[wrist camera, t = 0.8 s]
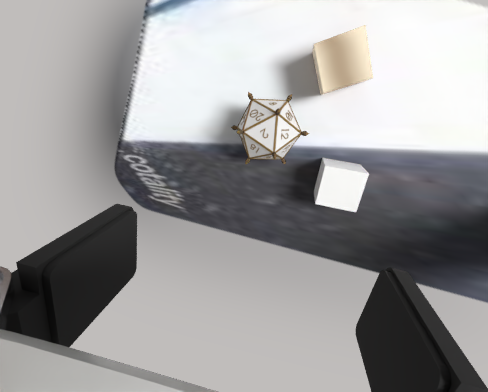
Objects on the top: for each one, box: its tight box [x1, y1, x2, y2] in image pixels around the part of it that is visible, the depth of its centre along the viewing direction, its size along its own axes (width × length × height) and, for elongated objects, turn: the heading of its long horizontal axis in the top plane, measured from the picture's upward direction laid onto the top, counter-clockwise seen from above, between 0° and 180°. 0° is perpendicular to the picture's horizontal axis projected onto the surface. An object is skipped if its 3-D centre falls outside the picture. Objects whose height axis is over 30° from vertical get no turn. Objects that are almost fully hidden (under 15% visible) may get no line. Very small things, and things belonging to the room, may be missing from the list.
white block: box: [314, 158, 369, 212], centre depth 33 cm, size 5×5×5 cm
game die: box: [231, 92, 309, 164], centre depth 31 cm, size 9×8×10 cm
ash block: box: [312, 25, 373, 95], centre depth 29 cm, size 5×5×5 cm
